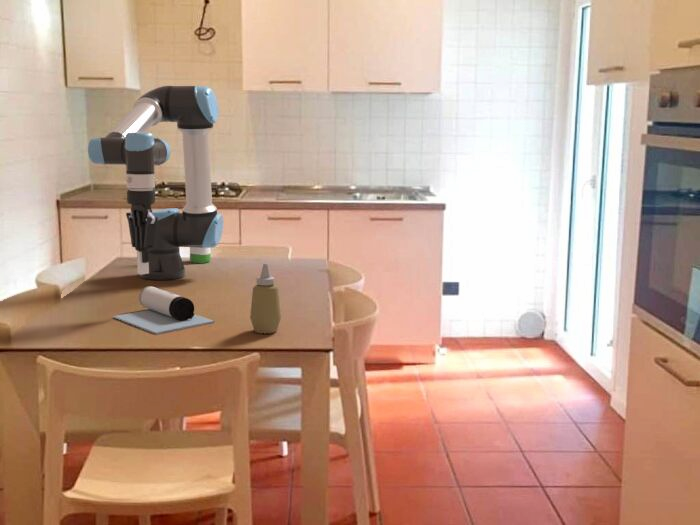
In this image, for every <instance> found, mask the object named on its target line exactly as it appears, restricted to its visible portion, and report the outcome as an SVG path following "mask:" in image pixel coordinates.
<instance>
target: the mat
mask: <svg viewBox="0 0 700 525" xmlns="http://www.w3.org/2000/svg"><path fill="white" fill-rule="evenodd" d="M113 319H115V320H117V319H118V321H120V320H121V321H120V322H122V321H124V322H123V323H125V322H126V323H125V324H128V325H130V324H131V326H133V327H135V326H136V328H138V327H139V328H138V329H141V330H143V329H144V331H146V332H149V333H152V334H153V335H160V334H165V333H170V332H174V331H179V330H184V329H185V330H186V329H189V328H195V327H200V326H205V325H209V324H214V323H215V320H213V319H210V318H208V317H207V318H206V317H204V316H202V315H201V316H200V315H198V314H195V315H194V316H193V317H192V319H188V320H185V321H181V320H178V319H175V318H172V317H170V316H167V315H165V314H162V313H159V312H157V311H154V310H151V309H148V310H147V309H146V310H140V311H136V312H135V311H134V312H131V313H130V312H129V313H125V314H119V315H113Z"/></svg>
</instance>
